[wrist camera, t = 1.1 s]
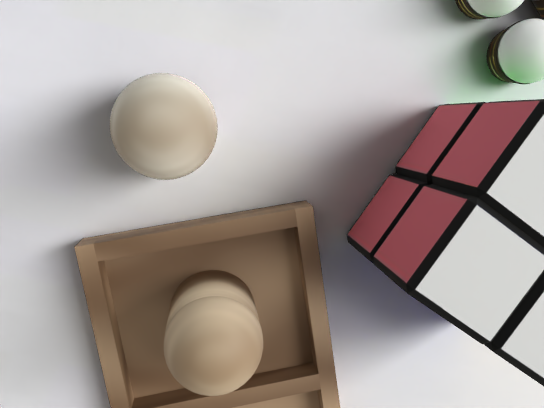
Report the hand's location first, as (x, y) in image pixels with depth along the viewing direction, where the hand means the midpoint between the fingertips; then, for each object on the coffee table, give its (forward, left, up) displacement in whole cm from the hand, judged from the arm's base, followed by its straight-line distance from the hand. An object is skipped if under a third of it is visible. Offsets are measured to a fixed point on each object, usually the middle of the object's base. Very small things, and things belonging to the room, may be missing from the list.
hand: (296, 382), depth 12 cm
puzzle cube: (+2, +13, -19) cm, 23 cm away
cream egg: (-6, -3, -19) cm, 20 cm away
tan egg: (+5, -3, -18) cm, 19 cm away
